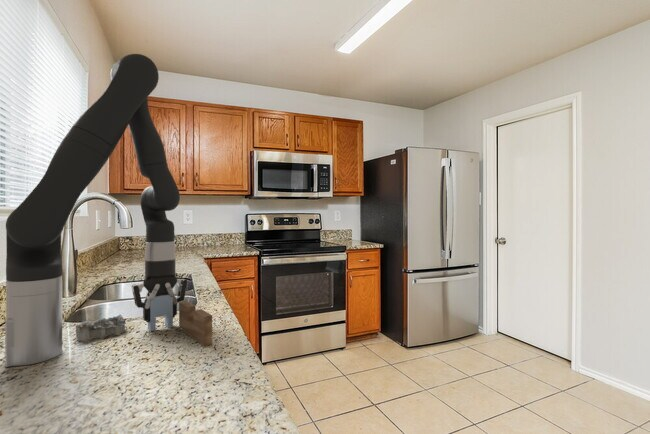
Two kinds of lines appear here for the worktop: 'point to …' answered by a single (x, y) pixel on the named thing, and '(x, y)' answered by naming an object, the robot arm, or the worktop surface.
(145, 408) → the worktop surface
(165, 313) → the notched block
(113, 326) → the egg carton
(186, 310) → the slotted plate
